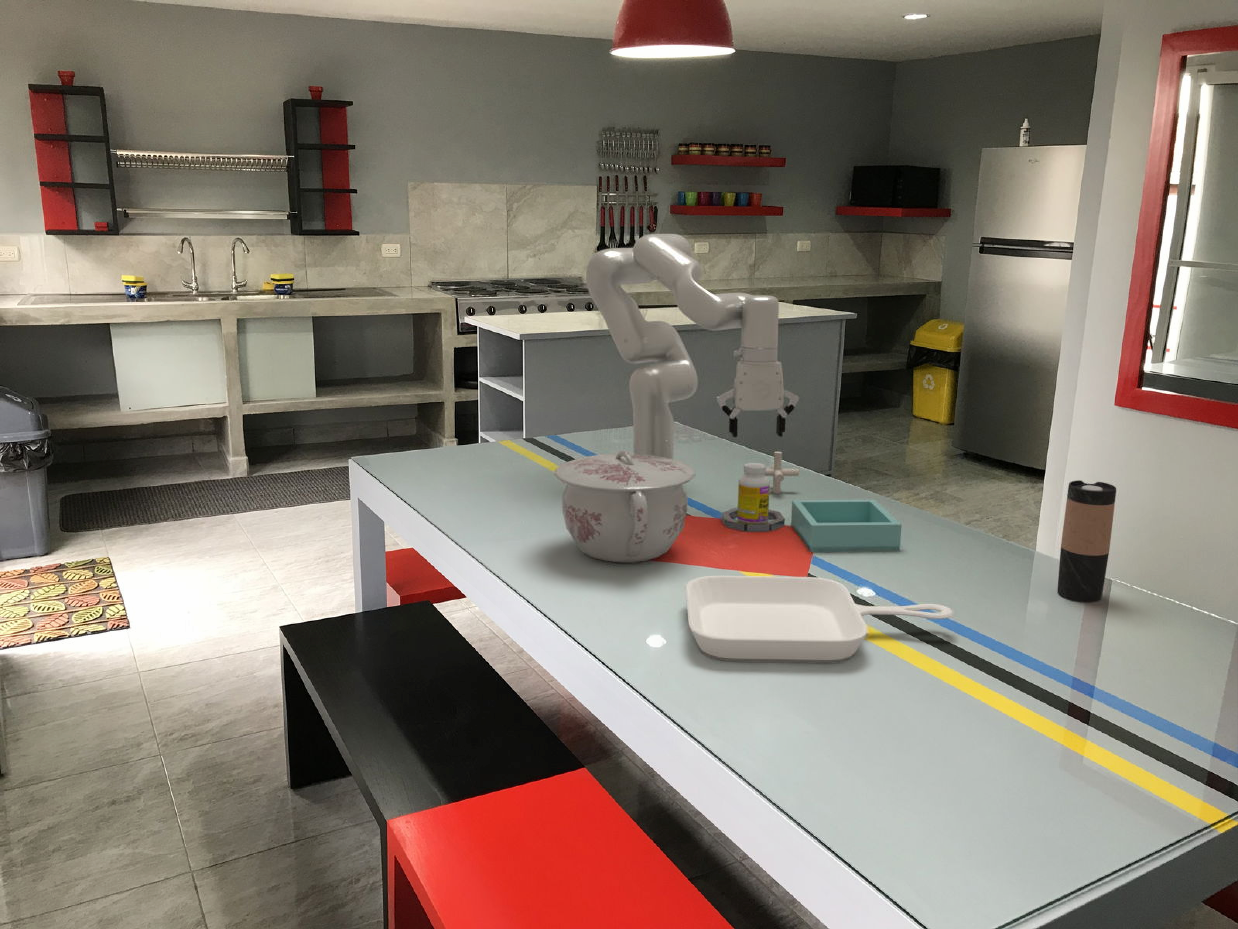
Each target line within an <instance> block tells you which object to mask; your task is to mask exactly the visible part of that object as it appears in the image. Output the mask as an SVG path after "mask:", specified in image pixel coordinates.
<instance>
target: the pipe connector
mask: <svg viewBox="0 0 1238 929" xmlns="http://www.w3.org/2000/svg"><path fill="white" fill-rule="evenodd" d="M782 459H783V452H782V451H774V453H773V464H772V465H771V466H770V468H766V471H765V473H764V475H765V476H766V477H772V479H773V480H772V494H774V493H775V494H776V495H777V493H778V494H779V495H780V494H781V482H783V481H784V479H785V477H799V474H800V473H799V472H800V471H799V468H782V462H783V461H782Z"/></svg>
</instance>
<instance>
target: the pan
mask: <svg viewBox="0 0 1238 929" xmlns="http://www.w3.org/2000/svg"><path fill="white" fill-rule="evenodd" d="M685 585H686V586H685V594H686V595H685V597H686V608H687V618H688V619H687V620H688V626H689V628H690V629H689V630H691V633H692V635H693V637H694V640H695V641H696V643H697V644H696V645H697V646H698V648H699V649H700V651H701V653H702V654H704V655H705V656H707V657H708V658H711V659H714V660H717V661H721V662H723V661H724V662H734V663H735V662H736V663H780V664H781V663H784V664H785V663H786V664H787V663H790V664H791V663H792V664H795V663H796V664H804V663H805V664H836V663H837V664H839V663H842V662H845V661H848V660H849V659H850V658H852V657H853V656H854V655H855V654H856V652H857V650H858V649H859V647H860V646H861V645H862V643H863V642H864V640H865V639H866V638H867V636H868V626H867V624H866V622H865V620H864V619H863V617H864V616H869V615H873V616H874V615H881V616H885V615H887V616H889V615H891V616H905V617H906V616H907V617H916V618H923V619H931V620H944V619H948V618H951V617H952V616H953V615H954V611H953V610H952V609H951V608H950V607H948V606H945V605H941V604H936V603H918V604H910V605H903V606H902V605H901V606H900V605H899V606H897V605H896V606H880V605H879V606H878V605H877V606H874V605H863V604H857V603H855V601H854V599H853V597H852V595H851V594H850V591H849V589H848V588H847V587H846V586H845V585H844V584H842V583H841V582H838V581H835V580H832V579H829V578H825V577H824V578H823V577H816V576H815V577H814V576H813V577H811V576H765V575H764V576H761V575H760V576H759V575H758V576H757V575H756V576H755V575H754V576H751V575H747V576H745V575H711V576H710V575H706V576H701V577H696V578H693V579H692V580H689V581H688V582H687V583H686V584H685ZM926 610H928V611H937V612H927V611H926Z"/></svg>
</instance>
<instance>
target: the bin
mask: <svg viewBox="0 0 1238 929" xmlns="http://www.w3.org/2000/svg"><path fill="white" fill-rule="evenodd" d="M790 518H791V520H790V526H791V527H792V528H793V530H794V531H795V533H796V534H797V535H798V536H799V538H800V540H801V541H802V542H803V544H804V545H805V547H806V548H807V549H808V551H809V552H810V553H823V552H824V553H828V552H829V553H832V552H833V553H836V552H839V553H840V552H900V549H901V540H902V538H901V537H902V526H903V525H902V523H901V522H900V521H899V520H897V519H896V518H895V517H894V516H893V515H892V514H891V513H890V512H889V511H888V510H887V509H886V508H885V507H884V506H882V505H881V504H880V503H879V502H878V501H877V500H876V499H811V500H810V499H808V500H807V499H805V500H804V499H803V500H802V499H800V500H791V516H790Z"/></svg>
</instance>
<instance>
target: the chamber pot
mask: <svg viewBox="0 0 1238 929" xmlns="http://www.w3.org/2000/svg"><path fill="white" fill-rule="evenodd" d="M553 475H554V476H555V477H556V478H557V479H558V480H559V481H560V482H562V483H564V484H566V485H567V486H565V489H564V491H563V492H562V497H561V498H562V500H561V501H562V509H561V510H562V514H563V519H564V524H565V527H566V528H565V529H566V531H568V533H569V534H570V536H571V538H572V539H573V541H574V542H575V544H576V545H577V547H578V548H579V549H580V550H581V551H582V552H583V553H584V554H586V556H589V557H592V558H594V559H596V560H601V561H604V562H608V561H609V562H608V563H615V562H618V564H634V563H633V562H635V563H641V562H644V561H645V562H646V561H649V560H652V559H653V560H654V559H657V558H659V557H661V556H663V555H665V554H666V553H667V552H668V551H669V550H670V548H671V547H672V546H673V545H674V543H675V541H676V540H677V539H678V537H679V535H680V534H681V532H682V531H683V529H684V525H685V521H686V518H687V512H688V495H687V494H688V493H687V492H686V489H685V488H684V487H683V485H685V484H686V483H689V482H690V481H691V480H692V479H694V477H695V476H696V472H695V469H694V468H693V467H692V466H690V465H689V464H686V463H685V462H682V461H680V460H676V459H674V460H673V459H669V458H666V457H659V456H653V455H644V454H633V453H630V451H627V450H625V449H622V450H620V451H619V452H618V453H607V454H596V455H589V456H584V457H580V458H576V459H572V460H569V461H565V462H563V463H562V464H561V465H559V466H558V467H556V468H555V469H554V474H553Z"/></svg>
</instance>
